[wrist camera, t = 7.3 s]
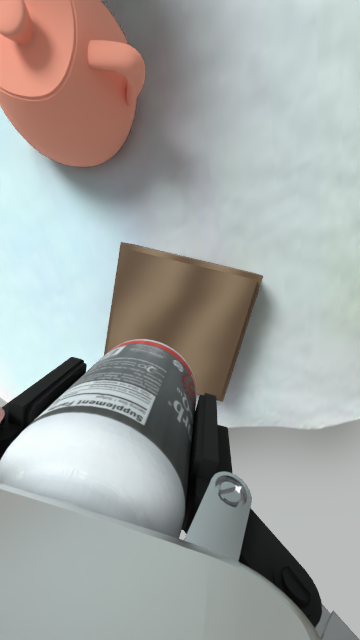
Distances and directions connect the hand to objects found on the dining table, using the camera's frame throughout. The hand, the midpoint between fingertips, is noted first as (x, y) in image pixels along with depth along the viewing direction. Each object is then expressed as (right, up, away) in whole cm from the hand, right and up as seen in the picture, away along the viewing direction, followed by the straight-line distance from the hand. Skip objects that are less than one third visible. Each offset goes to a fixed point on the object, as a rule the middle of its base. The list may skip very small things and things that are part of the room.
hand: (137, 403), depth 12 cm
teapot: (-8, +26, +12) cm, 30 cm away
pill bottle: (0, +1, +2) cm, 2 cm away
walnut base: (+2, +4, +16) cm, 17 cm away
